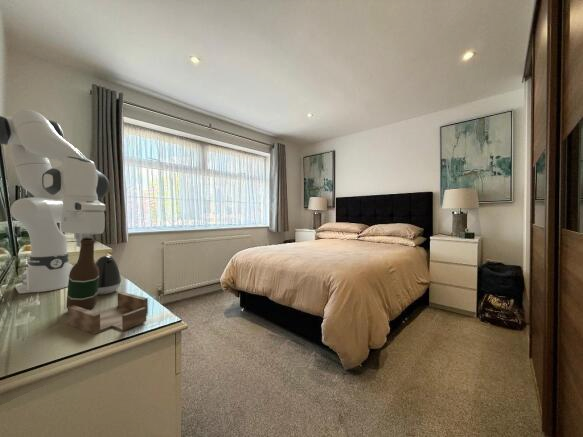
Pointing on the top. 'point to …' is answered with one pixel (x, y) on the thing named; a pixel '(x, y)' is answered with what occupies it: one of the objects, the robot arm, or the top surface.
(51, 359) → the top surface
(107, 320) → the u rest
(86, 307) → the beer bottle
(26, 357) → the top surface
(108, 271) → the dark grey oval piece
